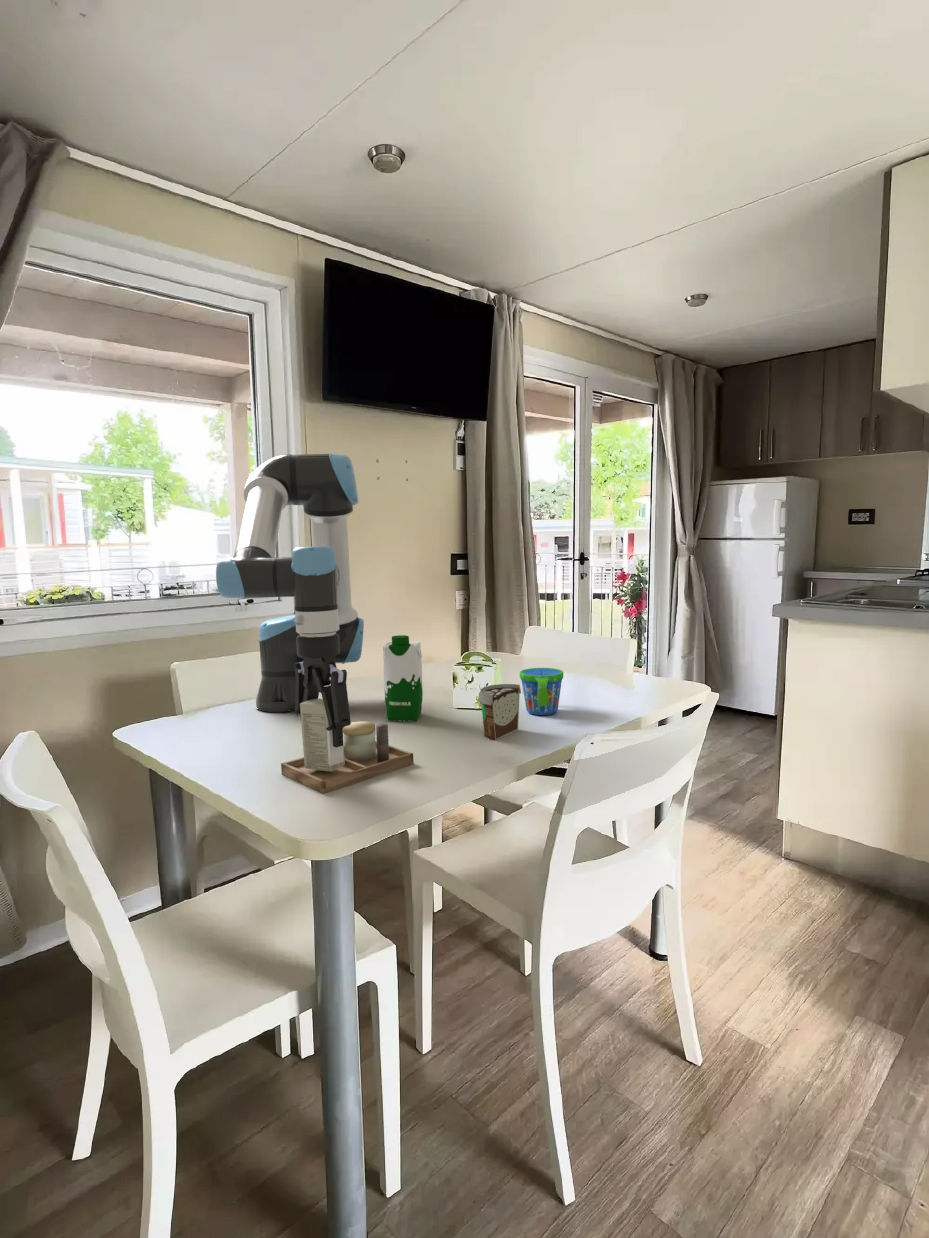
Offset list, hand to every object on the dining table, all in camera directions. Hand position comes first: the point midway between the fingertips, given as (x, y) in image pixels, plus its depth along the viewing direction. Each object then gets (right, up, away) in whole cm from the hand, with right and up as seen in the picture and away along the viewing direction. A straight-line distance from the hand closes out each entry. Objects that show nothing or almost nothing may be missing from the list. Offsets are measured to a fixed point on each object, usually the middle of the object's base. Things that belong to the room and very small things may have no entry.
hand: (324, 758), depth 120 cm
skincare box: (0, -2, 0) cm, 2 cm away
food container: (+32, 0, +25) cm, 41 cm away
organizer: (+4, -3, +4) cm, 6 cm away
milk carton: (+11, +1, +39) cm, 41 cm away
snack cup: (+44, +2, +41) cm, 60 cm away
